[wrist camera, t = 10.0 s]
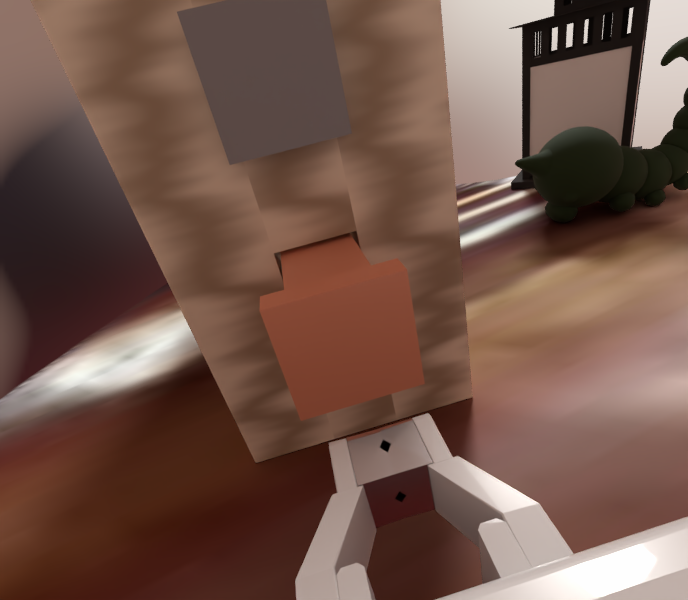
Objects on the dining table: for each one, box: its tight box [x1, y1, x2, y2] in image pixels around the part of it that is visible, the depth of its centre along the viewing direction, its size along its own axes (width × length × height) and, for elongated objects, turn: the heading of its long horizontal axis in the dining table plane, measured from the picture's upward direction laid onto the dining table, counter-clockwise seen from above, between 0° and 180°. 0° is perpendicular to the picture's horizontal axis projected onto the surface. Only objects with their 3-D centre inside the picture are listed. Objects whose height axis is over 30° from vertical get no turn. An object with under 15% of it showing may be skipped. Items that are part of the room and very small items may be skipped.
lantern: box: [510, 0, 650, 189], centre depth 59 cm, size 17×17×35 cm
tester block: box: [31, 0, 473, 463], centre depth 24 cm, size 16×6×27 cm, turn 100°
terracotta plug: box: [259, 233, 425, 421], centre depth 20 cm, size 6×9×6 cm, turn 10°
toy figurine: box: [515, 37, 688, 223], centre depth 47 cm, size 9×19×25 cm
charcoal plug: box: [177, 0, 352, 165], centre depth 20 cm, size 6×9×6 cm, turn 10°
